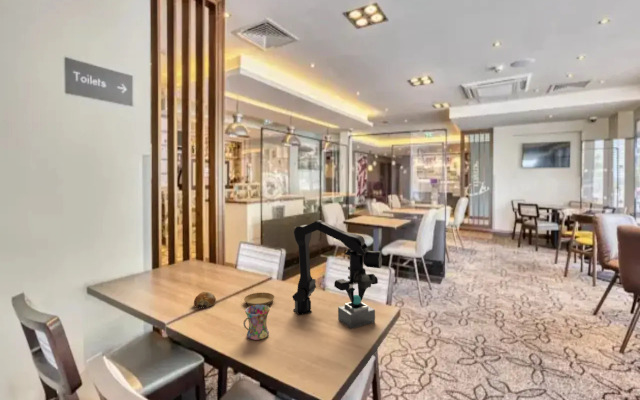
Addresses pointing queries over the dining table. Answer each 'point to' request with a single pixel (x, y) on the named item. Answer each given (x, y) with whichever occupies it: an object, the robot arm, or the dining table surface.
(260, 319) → the mug
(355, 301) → the bead
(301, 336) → the dining table surface
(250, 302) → the plant saucer
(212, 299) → the brown rounded dome
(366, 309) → the open metal box
